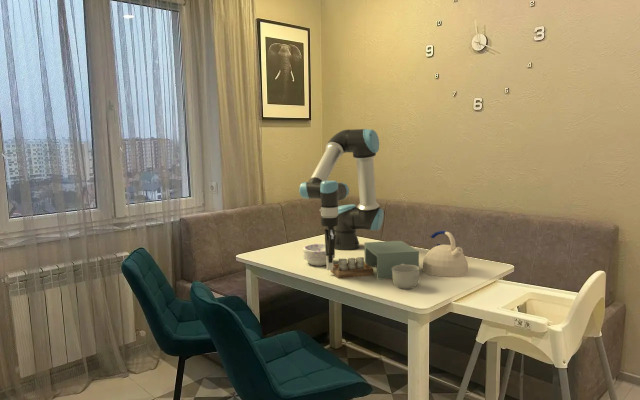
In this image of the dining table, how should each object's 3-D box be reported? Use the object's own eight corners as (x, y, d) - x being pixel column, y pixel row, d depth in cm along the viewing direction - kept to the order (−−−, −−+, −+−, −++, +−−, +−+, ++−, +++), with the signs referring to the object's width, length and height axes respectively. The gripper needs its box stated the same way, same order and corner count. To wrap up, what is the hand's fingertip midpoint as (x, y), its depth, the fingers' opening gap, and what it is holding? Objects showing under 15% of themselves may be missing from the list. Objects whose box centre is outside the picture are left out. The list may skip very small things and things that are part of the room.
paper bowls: (320, 269, 220) (319, 252, 218) (296, 263, 230) (296, 247, 229) (341, 262, 231) (341, 246, 230) (318, 257, 241) (318, 242, 240)
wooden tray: (330, 272, 216) (330, 257, 215) (363, 269, 220) (363, 254, 220) (338, 279, 205) (338, 263, 204) (373, 276, 209) (373, 260, 208)
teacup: (419, 291, 186) (419, 271, 185) (390, 290, 188) (391, 270, 187) (419, 281, 200) (419, 262, 199) (392, 280, 202) (392, 261, 201)
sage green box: (364, 265, 225) (364, 242, 223) (401, 263, 228) (401, 240, 227) (378, 278, 203) (378, 253, 202) (418, 276, 207) (418, 251, 205)
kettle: (441, 279, 202) (442, 237, 199) (412, 267, 220) (413, 229, 218) (479, 273, 210) (480, 233, 207) (448, 262, 228) (449, 225, 226)
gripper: (318, 214, 213) (319, 266, 216) (323, 219, 201) (324, 274, 204) (334, 213, 215) (335, 265, 218) (341, 218, 202) (341, 272, 205)
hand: (330, 269), depth 211 cm, fingers closed
